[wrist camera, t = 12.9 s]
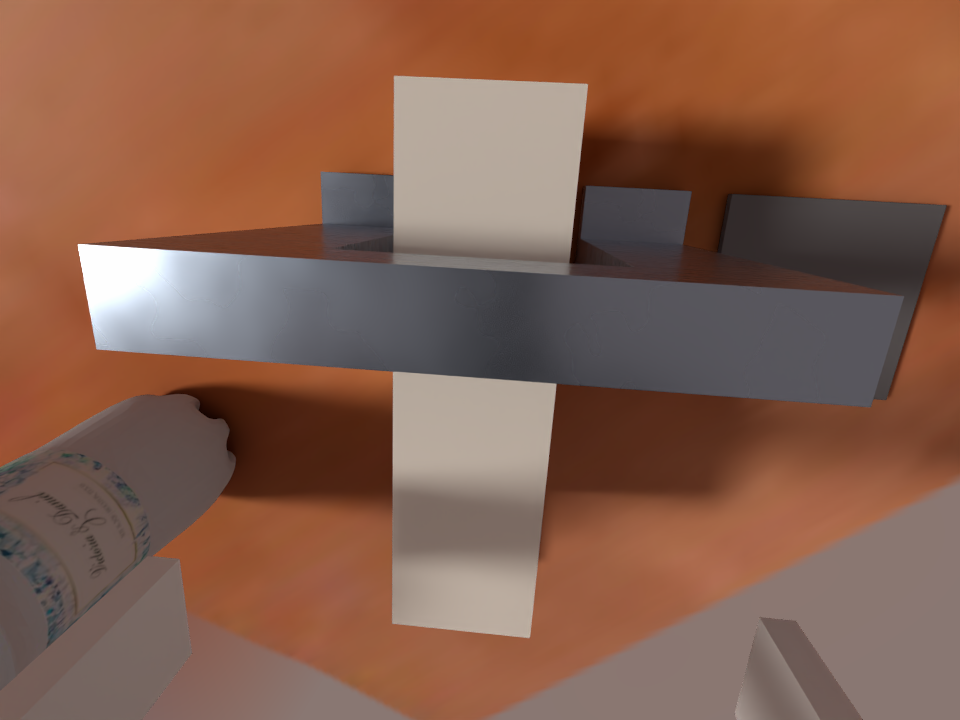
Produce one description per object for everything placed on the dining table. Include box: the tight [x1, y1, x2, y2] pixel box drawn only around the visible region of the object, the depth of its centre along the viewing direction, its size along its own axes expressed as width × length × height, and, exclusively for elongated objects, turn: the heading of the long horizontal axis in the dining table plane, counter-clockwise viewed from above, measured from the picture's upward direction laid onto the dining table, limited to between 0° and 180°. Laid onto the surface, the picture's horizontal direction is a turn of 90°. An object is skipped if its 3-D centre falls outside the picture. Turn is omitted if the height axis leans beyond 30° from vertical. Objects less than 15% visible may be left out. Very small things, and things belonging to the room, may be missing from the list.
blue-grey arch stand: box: [78, 172, 904, 407], centre depth 15 cm, size 6×14×13 cm, turn 87°
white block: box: [392, 76, 588, 638], centre depth 19 cm, size 20×4×9 cm, turn 177°
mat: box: [717, 194, 947, 400], centre depth 21 cm, size 8×8×1 cm
